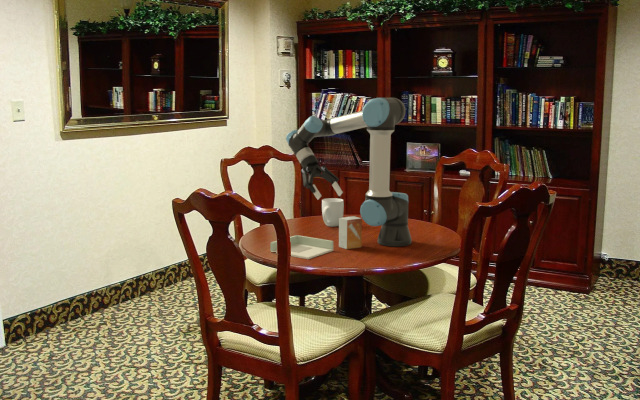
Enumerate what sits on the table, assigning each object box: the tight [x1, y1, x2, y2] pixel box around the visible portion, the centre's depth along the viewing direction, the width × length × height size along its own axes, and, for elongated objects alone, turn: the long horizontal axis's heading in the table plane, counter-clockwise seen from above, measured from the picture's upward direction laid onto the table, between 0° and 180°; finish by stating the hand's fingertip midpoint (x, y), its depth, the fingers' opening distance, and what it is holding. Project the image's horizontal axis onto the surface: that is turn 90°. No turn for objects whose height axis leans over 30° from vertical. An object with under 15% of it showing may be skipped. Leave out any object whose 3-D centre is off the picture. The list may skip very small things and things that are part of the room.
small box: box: [338, 215, 363, 250], centre depth 293 cm, size 8×6×13 cm
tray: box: [269, 234, 334, 260], centre depth 285 cm, size 20×18×4 cm
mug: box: [321, 197, 345, 228], centre depth 337 cm, size 15×11×13 cm
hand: (330, 196), depth 298 cm, fingers open, 13 cm apart
